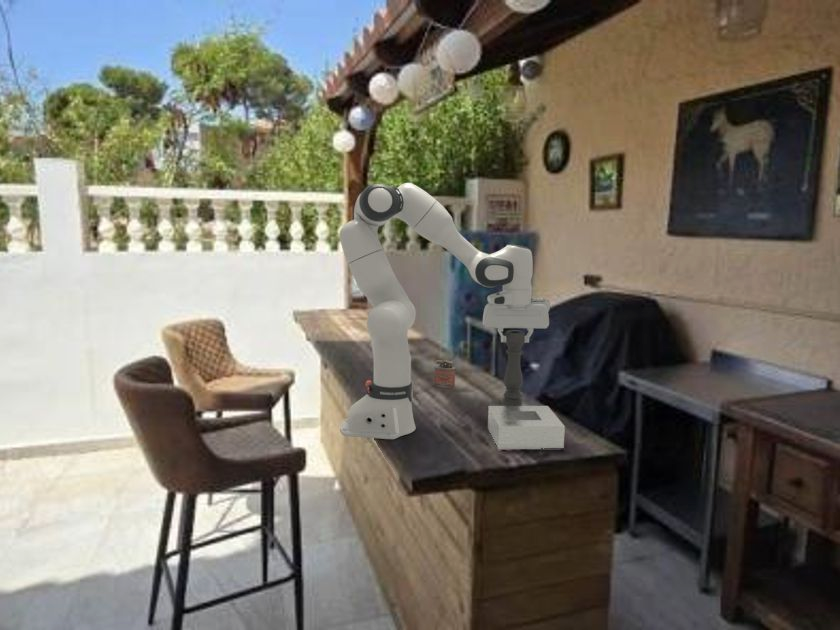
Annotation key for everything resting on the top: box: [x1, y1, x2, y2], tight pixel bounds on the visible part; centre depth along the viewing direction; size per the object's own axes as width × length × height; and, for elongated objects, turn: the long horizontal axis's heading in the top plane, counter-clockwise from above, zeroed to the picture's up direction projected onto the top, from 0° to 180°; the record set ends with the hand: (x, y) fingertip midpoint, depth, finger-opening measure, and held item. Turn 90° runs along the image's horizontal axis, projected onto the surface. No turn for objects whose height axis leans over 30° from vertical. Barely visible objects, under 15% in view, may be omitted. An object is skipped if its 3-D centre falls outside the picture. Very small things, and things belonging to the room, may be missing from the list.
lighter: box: [433, 359, 456, 389], centre depth 225 cm, size 8×3×10 cm, turn 74°
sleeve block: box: [487, 405, 566, 450], centre depth 172 cm, size 18×18×7 cm
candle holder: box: [501, 329, 526, 406], centre depth 187 cm, size 6×6×25 cm
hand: (514, 342), depth 185 cm, fingers closed on candle holder, 6 cm apart
